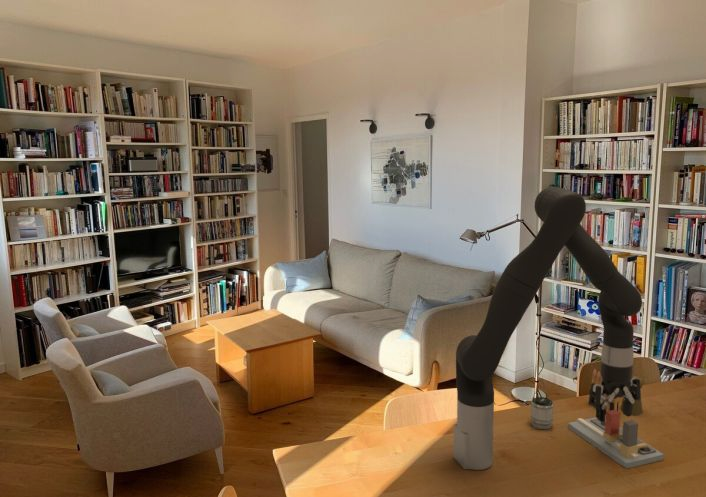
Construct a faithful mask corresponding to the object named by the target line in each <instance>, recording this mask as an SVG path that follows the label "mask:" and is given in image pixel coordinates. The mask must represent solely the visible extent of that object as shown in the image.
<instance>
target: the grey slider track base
mask: <svg viewBox="0 0 706 497" xmlns="http://www.w3.org/2000/svg"><path fill="white" fill-rule="evenodd" d="M605 422H606V417H605ZM605 422H601V421H599V420H598V419H597V418H596V416H595V417H591V418H587V419H586V418H585V419H584V418H582V417H579V418H577V419H576V421H571V422H567V428H568V429H569V430H570V429H571V430H570V431H572V432H574V433H575V434H576V435H577V434H578V435H577V436H579V437H580V436H581V437H580V438H582V439H583V440H584V441H586V442H587V441H588V443H589V444H590V443H591V444H590V445H592V446H593V447H594V448H596V447H597V448H598V449H597V448H596V449H597V450H599V451H600V450H601V451H600V452H601V453H602V454H605V455H606V456H607V457H609V458H610V459H612V461H615V462H616V463H617V464H619V465H620V466H621V467H623V468H624V469H625V470H626V469H630V468H634V467H640V466H643V465H648V464H650V463H655V462H656V463H657V462H659V461H660V462H661V461H664V458H665V454H664V453H663V452H661V451H659V450H657V449H656V448H654V447H653V446H651V445H650V444H648V443H647V442H645V441H643V440H641V439H640V438H638V434H639V433H638V431H639V430H638V429H639V423H638V422H636V421H634V420H633V419H631V420H626V421H625V420H624V421H623V423H622V427H620V426H619V434H620V433H623V434H622V437H620V440H617V441H613V442H609V441H608V440H606V439H605V438H603V432H605Z"/></svg>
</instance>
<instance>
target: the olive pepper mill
mask: <svg viewBox="0 0 706 497" xmlns="http://www.w3.org/2000/svg"><path fill="white" fill-rule="evenodd" d="M632 376H633V377H635V378H637V379H639V380H640V399H639V400H635V402H634V403H633V408H632V414H631V416H641V415H642V414H643V403H642V391H641V389H642V388H643V386H644V383H643V379H642V378H640V377H639V376H636V375H632ZM628 390H629V391H630V387H629V388H628ZM634 394H635V391H634ZM623 401H625V399H624V398H623V397H622V399H621V404H620V405H621V406H620V408H619V409H620V412H622V413H623Z"/></svg>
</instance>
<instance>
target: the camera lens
mask: <svg viewBox="0 0 706 497" xmlns="http://www.w3.org/2000/svg"><path fill="white" fill-rule="evenodd" d="M554 406H555V405H554V402H553V401H552V400H551V399H549V398H547V397H543V396H538V397H534V398H532V399H531V401H530V423H531V425H532V427H534V428H535V429H539V430H543V429H544V430H550V429H551V428H552V426H553V423H554V422H553V421H554V409H555V407H554Z"/></svg>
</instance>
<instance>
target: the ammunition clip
mask: <svg viewBox="0 0 706 497" xmlns="http://www.w3.org/2000/svg"><path fill="white" fill-rule="evenodd" d="M591 378H592V380H591V384H592V383H594V384H596V385H598V384H601V383H602V376H601V370H598V371H597V370H596V368H594V369H593V372H592V377H591ZM590 392H591V388H590V389H589V397H588V405H589V406H591V407H593V408H595V409H596V407H594V406H592V405H591V404H590ZM604 397H606V398H607V397H608V396H607V395H606V394H605V395H604ZM618 398H619V397H618ZM618 398H616V399H613V400H612V401H611V403H608V404H607V406H606V408H605V409H606V411H611V410H616V411H617V412H619V401H618ZM603 401H604V400H603ZM603 401H602V402H601V404H602V403H603ZM606 411H605V416H606Z"/></svg>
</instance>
